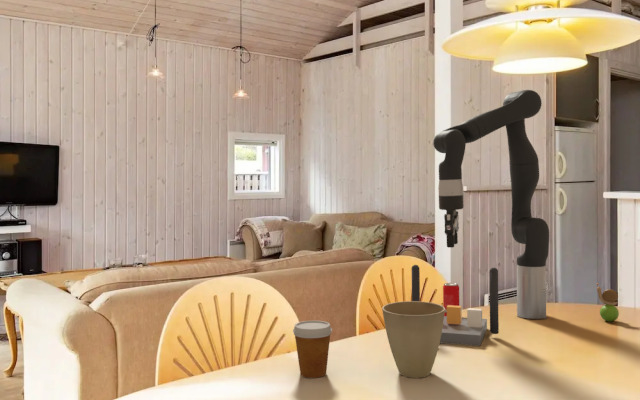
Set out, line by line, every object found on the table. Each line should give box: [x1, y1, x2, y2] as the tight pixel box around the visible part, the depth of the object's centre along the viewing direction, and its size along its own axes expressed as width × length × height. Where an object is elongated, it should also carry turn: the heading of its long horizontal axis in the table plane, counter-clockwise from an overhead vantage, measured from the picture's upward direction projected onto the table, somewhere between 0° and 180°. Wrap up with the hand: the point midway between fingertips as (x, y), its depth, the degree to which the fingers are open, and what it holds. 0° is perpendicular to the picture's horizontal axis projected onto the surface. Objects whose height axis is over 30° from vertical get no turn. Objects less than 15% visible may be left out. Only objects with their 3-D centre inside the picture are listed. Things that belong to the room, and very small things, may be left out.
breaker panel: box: [439, 307, 488, 347], centre depth 173 cm, size 17×20×8 cm
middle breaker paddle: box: [447, 305, 463, 324], centre depth 173 cm, size 4×2×5 cm, turn 69°
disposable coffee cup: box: [292, 320, 333, 379], centre depth 140 cm, size 10×10×12 cm
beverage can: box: [442, 282, 460, 316], centre depth 191 cm, size 5×5×12 cm
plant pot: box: [381, 300, 445, 379], centre depth 139 cm, size 15×15×16 cm
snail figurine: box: [596, 282, 620, 322], centre depth 186 cm, size 5×6×12 cm
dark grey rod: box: [411, 264, 421, 302], centre depth 177 cm, size 2×2×19 cm
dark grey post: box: [488, 267, 500, 335], centre depth 169 cm, size 2×2×19 cm
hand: (452, 245), depth 182 cm, fingers open, 8 cm apart
